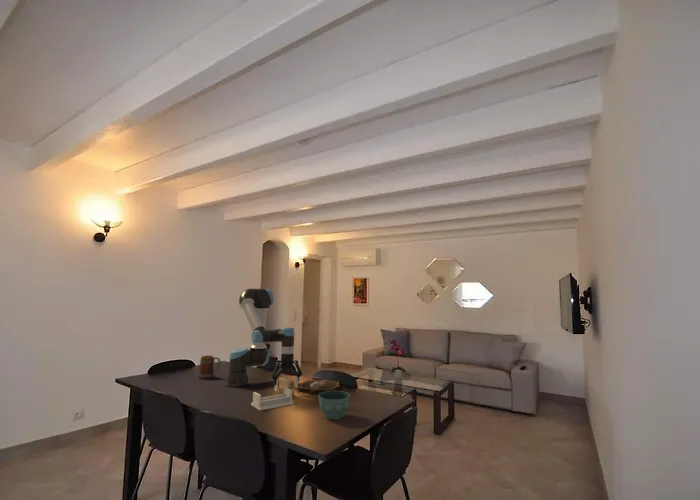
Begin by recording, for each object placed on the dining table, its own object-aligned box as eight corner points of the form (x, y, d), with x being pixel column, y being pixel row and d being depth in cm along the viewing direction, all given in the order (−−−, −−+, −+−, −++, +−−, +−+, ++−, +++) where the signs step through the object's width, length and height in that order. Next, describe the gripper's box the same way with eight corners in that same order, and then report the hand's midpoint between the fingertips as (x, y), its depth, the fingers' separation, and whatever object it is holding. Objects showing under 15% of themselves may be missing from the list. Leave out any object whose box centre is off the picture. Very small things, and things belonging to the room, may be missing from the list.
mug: (195, 378, 266) (196, 357, 268) (203, 375, 276) (204, 354, 278) (215, 380, 263) (216, 358, 265) (222, 376, 274) (224, 355, 275)
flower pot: (324, 424, 179) (324, 400, 180) (313, 413, 193) (314, 392, 195) (354, 420, 185) (355, 397, 186) (342, 410, 200) (342, 389, 201)
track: (251, 404, 207) (251, 391, 208) (283, 399, 219) (284, 386, 219) (259, 410, 197) (260, 396, 198) (293, 404, 209) (293, 391, 210)
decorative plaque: (304, 378, 261) (346, 380, 255) (304, 382, 261) (346, 385, 255) (289, 388, 232) (336, 392, 226) (289, 393, 232) (336, 397, 226)
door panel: (287, 399, 219) (288, 381, 220) (278, 394, 228) (279, 377, 230) (293, 398, 221) (294, 380, 222) (284, 393, 231) (285, 377, 232)
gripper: (271, 355, 217) (269, 393, 215) (308, 352, 232) (307, 387, 230) (265, 354, 223) (264, 390, 221) (302, 350, 238) (301, 385, 236)
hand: (286, 389), depth 225 cm, fingers open, 13 cm apart
